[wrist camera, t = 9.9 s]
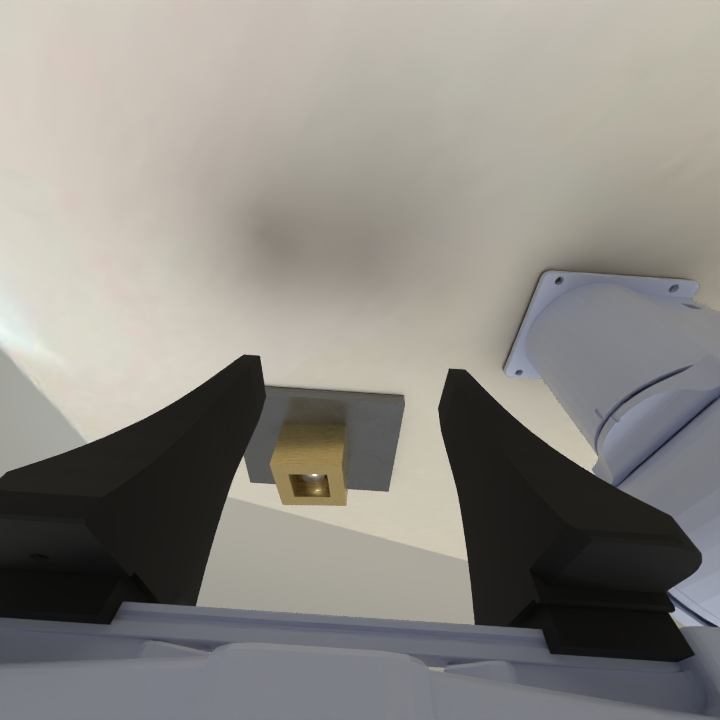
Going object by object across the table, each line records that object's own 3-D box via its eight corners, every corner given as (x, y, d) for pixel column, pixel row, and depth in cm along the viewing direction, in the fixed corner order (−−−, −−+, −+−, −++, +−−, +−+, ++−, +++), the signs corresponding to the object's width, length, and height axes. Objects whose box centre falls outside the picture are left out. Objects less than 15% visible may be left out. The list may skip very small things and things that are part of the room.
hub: (345, 424, 26) (341, 464, 23) (349, 465, 29) (346, 505, 26) (282, 424, 26) (269, 464, 23) (292, 464, 29) (282, 504, 26)
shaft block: (403, 395, 25) (408, 432, 22) (388, 482, 32) (389, 521, 29) (233, 384, 25) (212, 419, 22) (253, 473, 32) (239, 511, 29)
